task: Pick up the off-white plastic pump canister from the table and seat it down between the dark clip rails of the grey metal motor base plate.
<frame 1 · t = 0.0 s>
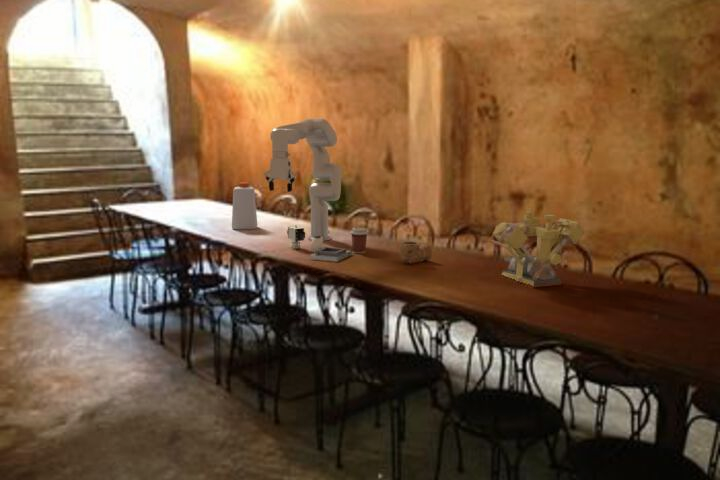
hand: (280, 191, 296), 31 cm above the table, tool pointing down, fingers open, 9 cm apart
coffee cup: (359, 252, 310), on the table
plastic bottle: (244, 228, 378), on the table
pipe: (415, 263, 287), on the table
pump: (317, 251, 310), on the table
mechanical engine: (531, 281, 255), on the table
motor base: (331, 257, 297), on the table
pneumatic valve: (296, 248, 318), on the table
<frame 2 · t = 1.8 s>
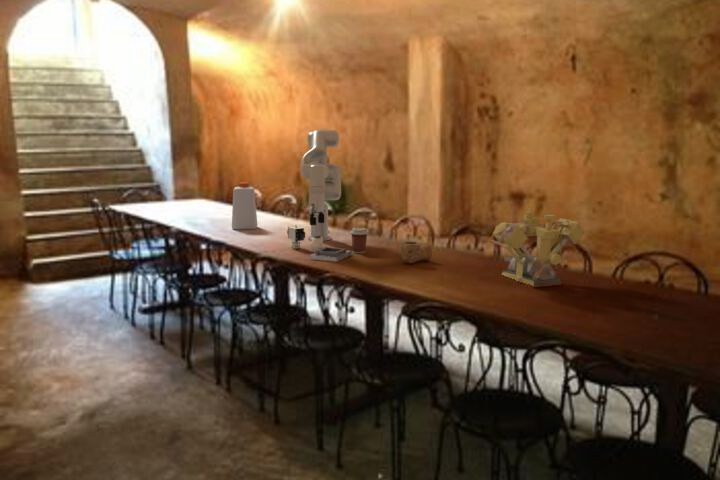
hand: (317, 224, 307), 14 cm above the table, tool pointing down, fingers open, 9 cm apart
nothing on the table moved.
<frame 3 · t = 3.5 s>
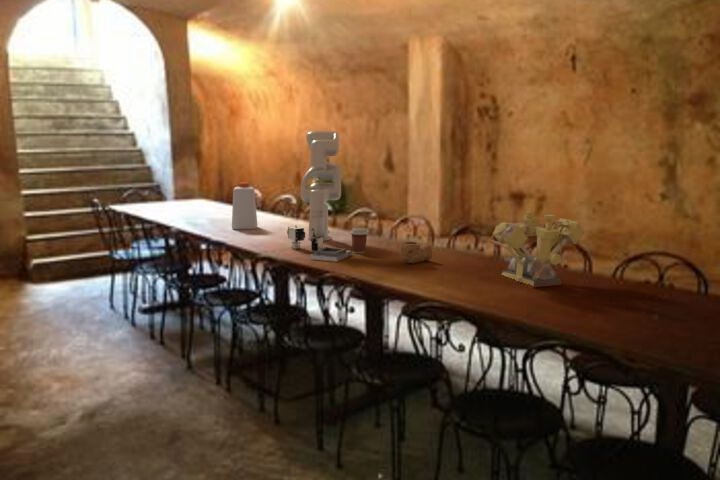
hand: (317, 249, 310), 1 cm above the table, tool pointing down, fingers closed on pump, 5 cm apart
pump: (317, 251, 310), on the table, touching gripper
everything else where it was.
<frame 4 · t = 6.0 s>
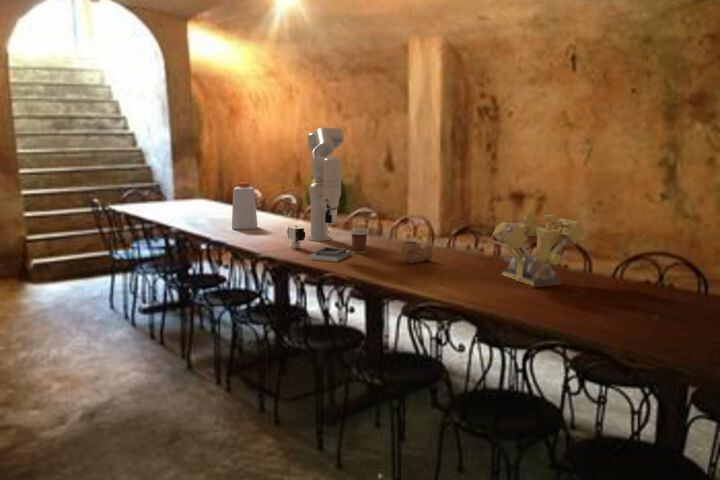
hand: (331, 221, 294), 17 cm above the table, tool pointing down, fingers closed on pump, 5 cm apart
pump: (331, 223, 294), point 16 cm above the table, touching gripper
everything else where it was.
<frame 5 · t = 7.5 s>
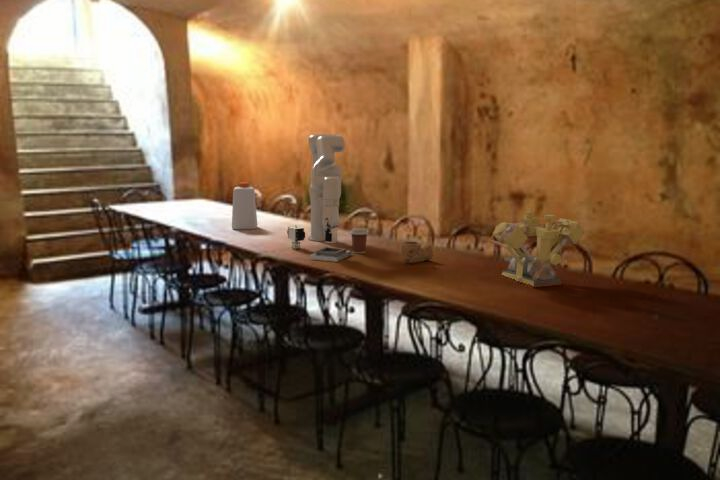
hand: (331, 240, 295), 8 cm above the table, tool pointing down, fingers closed on pump, 5 cm apart
pump: (331, 242, 295), point 7 cm above the table, touching gripper
everything else where it was.
when the fingers open (4 cm above the table, at t = 8.7 s): pump drops 1 cm, resting on motor base.
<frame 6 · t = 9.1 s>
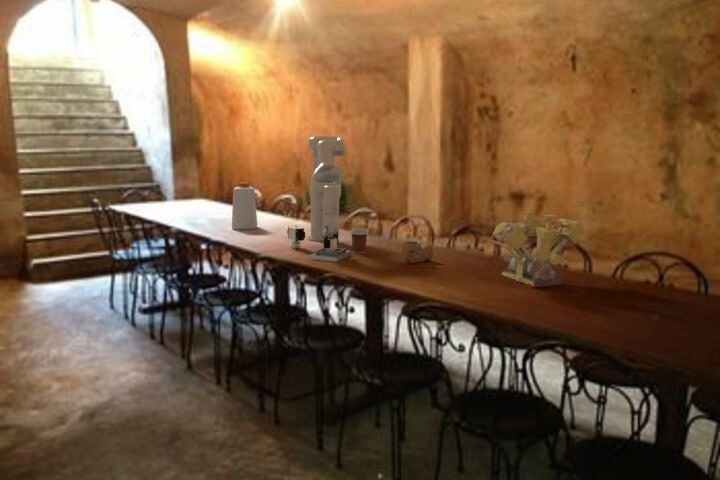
hand: (331, 246, 296), 5 cm above the table, tool pointing down, fingers open, 9 cm apart
pump: (331, 252, 297), point 2 cm above the table, touching motor base
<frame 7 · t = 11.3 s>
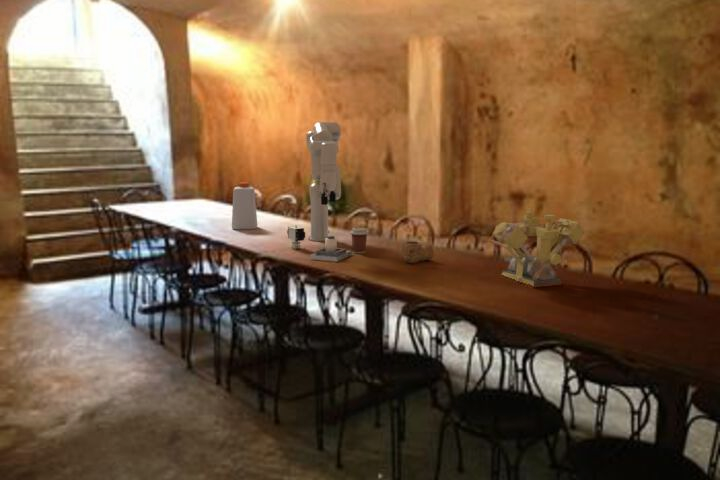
hand: (328, 203, 301), 25 cm above the table, tool pointing down, fingers open, 9 cm apart
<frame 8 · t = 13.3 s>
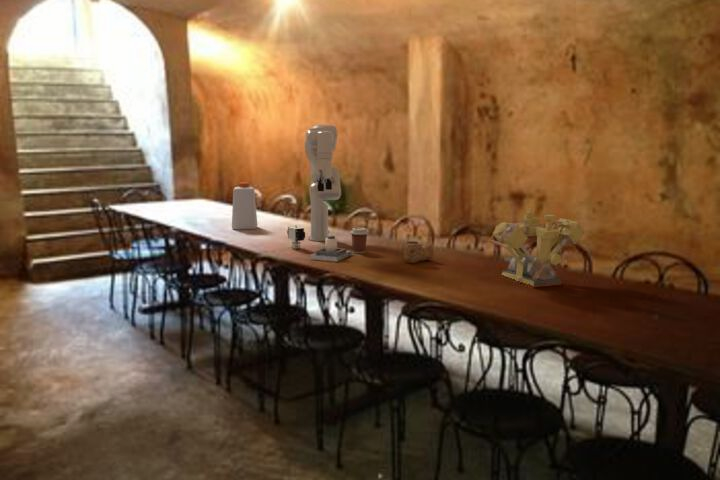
hand: (324, 190, 311), 30 cm above the table, tool pointing down, fingers open, 9 cm apart
at the end: pump 0.2 cm off-centre on the motor base, point 2.1 cm above the motor base's base; pump tilted 2°; the gripper is holding nothing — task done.
